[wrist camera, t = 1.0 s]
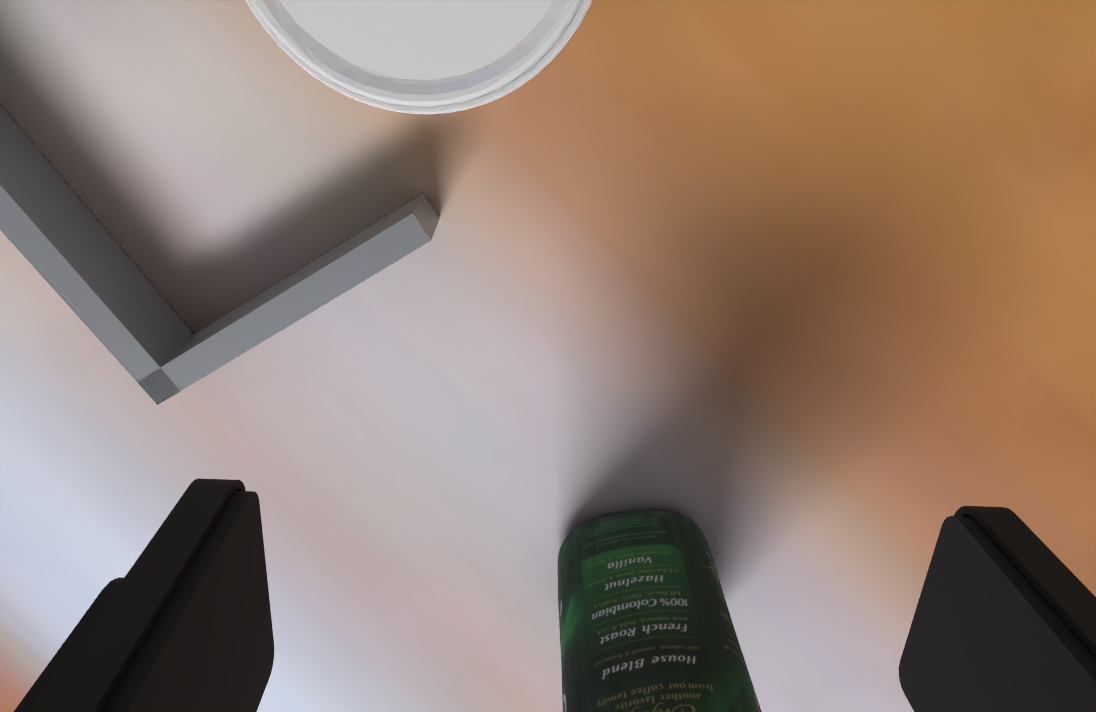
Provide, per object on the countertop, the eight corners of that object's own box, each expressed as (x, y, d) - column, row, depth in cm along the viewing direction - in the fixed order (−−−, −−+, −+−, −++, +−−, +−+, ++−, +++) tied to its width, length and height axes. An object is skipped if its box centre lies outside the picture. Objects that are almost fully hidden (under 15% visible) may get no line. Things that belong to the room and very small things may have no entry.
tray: (170, -191, 27) (124, -217, 24) (439, 218, 33) (430, 240, 30) (-106, 23, 29) (-183, 25, 26) (190, 368, 35) (157, 404, 32)
